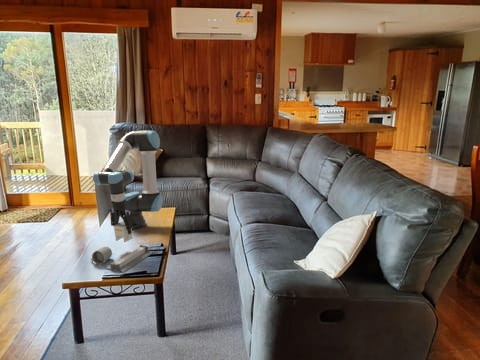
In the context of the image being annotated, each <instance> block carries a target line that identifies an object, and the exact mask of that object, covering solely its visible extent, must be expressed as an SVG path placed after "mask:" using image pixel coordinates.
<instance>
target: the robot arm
mask: <svg viewBox="0 0 480 360" xmlns="http://www.w3.org/2000/svg"><path fill="white" fill-rule="evenodd" d="M116 145H117V146H116V148H115V149H114V150H113V152H112V154H111V155H110V157H109V159H108V160H107V161H106V162H105V165H104V166H103V168H102V169H101V170H100V171H96V172H94V173H93V176H92V181H93V183H94V184H95V185H99V186H109V193H110V201H111V209H109V211H108V212H109V214H110V226H111V227H112V226H113V227H114V225H116V224H118V223H120V217H121V219H122V222H124V223H125V226H126V228H127V229H126V235H127V240H129V239H130V240H132V239H131V233H132V234H133V232H131V229H132V230H137V228H138V229H141V228H143V227H145V226H146V225H147V222H146V219H145V217H144V215H143V213H144V212H145V213H147V212H149V213H150V212H151V213H157V212H159V211H160V210H161V209H162V207H163V203H164V202H163V201H164V197H163V195H162V194H160V190H159V189H158V188H157V187H158V186H157V185H158V184H157V169H156V168H157V167H156V166H157V165H156V164H157V163H156V153H157V152H158V149H159V148H160V147H161V139H160V135H159V134H158V133H157V131H156V130H133V131H130V132H127V133H126V134H124V135H123V136H122V137H121V138H120V139H119V140H118V142H117V143H116ZM135 149H138V152H139V153H140V154H141V166H142V168H141V169H142V182H143V190H142V191H141V192H140V191H132V192H128V193H125V187H126V186H127V185H129V184H131V183H132V182H133V181H134V179H135V175H134V172H132V171H131V170H128V169H127V170H124V171H119V168H120V167H121V165H122V163H123V162H124V160H125V159H126V157H127V155H128V154H129V153H131V152H132V150H135ZM128 226H129V227H128ZM130 240H129V241H130Z"/></svg>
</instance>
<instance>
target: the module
mask: <svg viewBox="0 0 480 360" xmlns="http://www.w3.org/2000/svg"><path fill="white" fill-rule="evenodd" d="M128 227H129V226H128ZM126 229H127V228H126V226H125V223H124V222H123V221H119V223H118V224H116V225H114V226H113V231H114V237H115V241H119V240H121V239H123V243H127V242H129V241H130V240H132V239H133V238H134V237H133V232H132V230H133V229H131V232H132V233H131V239H129V240H127V235H126Z"/></svg>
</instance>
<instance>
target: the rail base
mask: <svg viewBox="0 0 480 360" xmlns="http://www.w3.org/2000/svg"><path fill="white" fill-rule="evenodd" d="M153 252H154V251H151V250H149V245H143V244H140V245H139V248H136V249H134V250H133V251H130V252H129V253H128V254H125V255H124V256H122V258H120V259H118V260H115V262H110V263H109V265H107V267H105V269H106V270H109V269H110V270H109V271H114V270H116V271H115V272H118V271H121V272H120V273H123V272H124V273H125V271H126V270H127V271H128V269H129V270H130V269H131V268H133V267H135V266H136V265H138V264H139V263H141V262H143V260H145V259H146V258H148V257H149V256H152V255H153V254H154V253H153ZM127 271H126V272H127Z"/></svg>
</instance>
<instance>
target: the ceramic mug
mask: <svg viewBox="0 0 480 360" xmlns="http://www.w3.org/2000/svg"><path fill="white" fill-rule="evenodd" d="M112 255H113V252H112V249H111V248H110V247H109V246H102V247H100V248H98V249H97V250H95V251H93V253H92V255H91V258H90V261H91V262H94V263H95V264H96V265H103V264H104V263H106V262H107V261H108V260H110V258H111V257H112Z"/></svg>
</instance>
